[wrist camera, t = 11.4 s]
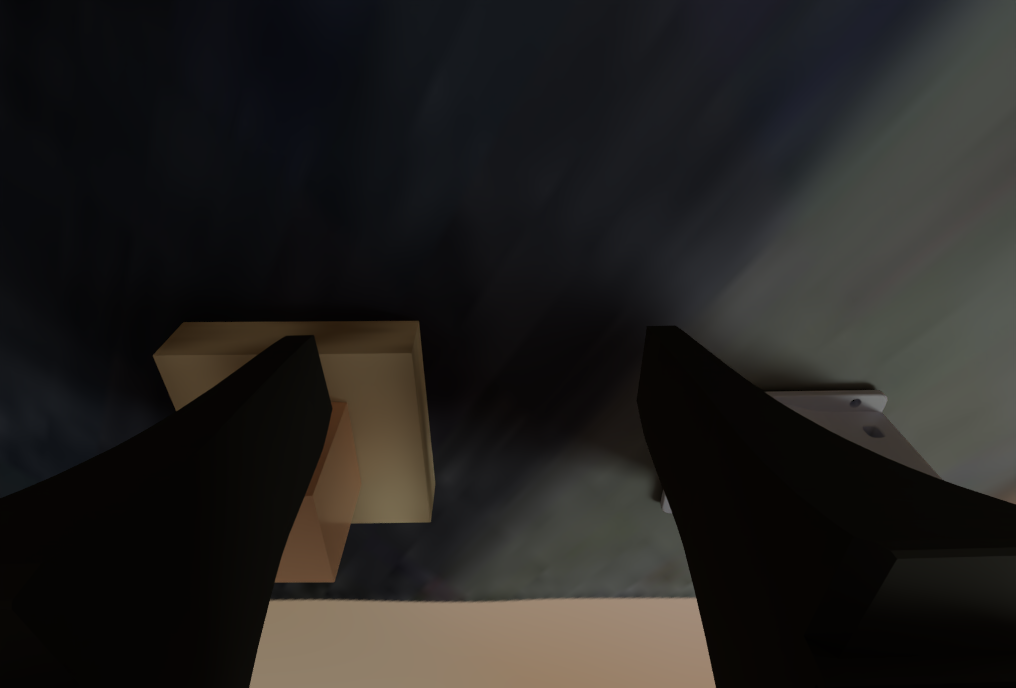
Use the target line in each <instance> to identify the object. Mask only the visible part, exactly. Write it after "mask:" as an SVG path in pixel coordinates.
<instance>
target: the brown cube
mask: <svg viewBox="0 0 1016 688" xmlns="http://www.w3.org/2000/svg"><path fill="white" fill-rule="evenodd" d="M331 404H332V408H333V409H332V413H331V418H330V423H329V427H328V432H327V436H326V440H325V444H324V448H323V450H322V453H321V456H320V458H319V461H318V464H317V466H316V469H315V471H314V474H313V477H312V479H311V482H310V484H309V487H308V489H307V492H306V494H305V497H304V499H303V502H302V504H301V507H300V509H299V512H298V514H297V517H296V519H295V522H294V524H293V527H292V529H291V532H290V534H289V537H288V540H287V543H286V546H285V548H284V551H283V554H282V557H281V561H280V565H279V568H278V572H277V575H276V579H275V582H335V578H336V574H337V571H338V567H339V564H340V560H341V556H342V553H343V549H344V546H345V542H346V538H347V535H348V531H349V528H350V524H351V520H352V517H353V513H354V510H355V506H356V502H357V499H358V495H359V492H360V488H361V484H362V483H361V477H360V472H359V466H358V461H357V455H356V449H355V444H354V438H353V433H352V427H351V421H350V416H349V410H348V405H347V402H331Z"/></svg>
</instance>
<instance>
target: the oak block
mask: <svg viewBox="0 0 1016 688" xmlns="http://www.w3.org/2000/svg"><path fill="white" fill-rule="evenodd" d="M292 335H314V337H315V341H316V345H317V349H318V353H319V357H320V361H321V365H322V369H323V373H324V376H325V380H326V384H327V388H328V392H329V396H330V400H331V402H347V405H348V410H349V416H350V421H351V427H352V433H353V438H354V444H355V449H356V455H357V461H358V466H359V472H360V477H361V483H362V484H361V488H360V492H359V495H358V499H357V502H356V506H355V510H354V513H353V517H352V520H351V523H407V522H431V515H432V507H433V498H434V490H435V477H434V467H433V457H432V447H431V437H430V427H429V417H428V407H427V397H426V387H425V377H424V367H423V357H422V347H421V337H420V327H419V321H312V322H183V323H182V324H181V325H180V326H179V328H178V329H177V330H176V331H175V332H174V333H173V334H172V335H171V336H170V337H169V338H168V339H167V341H166V342H165V343H164V344H163V345H162V346H161V347H160V348H159V349H158V350H157V351H156V352H155V354H154V355H153V357H154V360H155V362H156V364H157V367H158V369H159V372H160V374H161V376H162V379H163V381H164V383H165V386H166V388H167V390H168V393H169V395H170V397H171V400H172V402H173V405H174V407H175V409H176V411H178V410H179V409H181V408H182V407H184V406H185V405H187V404H188V403H190V402H191V401H193V400H194V399H196V398H197V397H199V396H200V395H202V394H203V393H205V392H206V391H208V390H209V389H211V388H212V387H214V386H215V385H217V384H218V383H219V382H221V381H222V380H224V379H225V378H226V377H228V376H229V375H231V374H232V373H233V372H235V371H236V370H237V369H239V368H240V367H242V366H243V365H244V364H246V363H247V362H248V361H250V360H251V359H253V358H254V357H255V356H257V355H258V354H259V353H261V352H262V351H264V350H265V349H266V348H268V347H269V346H271V345H272V344H273V343H275V342H276V341H278V340H280V339H281V338H283V337H285V336H292Z"/></svg>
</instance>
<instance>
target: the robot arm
mask: <svg viewBox="0 0 1016 688" xmlns="http://www.w3.org/2000/svg"><path fill="white" fill-rule="evenodd" d="M854 399H855V400H854ZM853 400H854V401H853ZM851 401H853V402H851ZM886 403H887V396H886V395H885V394H884V393H883V392H882V391H880V390H840V391H775V392H764V391H762V390H761V389H759V388H758V387H756V386H755V385H754V384H752V383H751V382H749V381H748V380H746V379H745V378H744V377H742V376H741V375H739V374H738V373H737V372H735V371H734V370H733V369H731V368H730V367H729V366H727V365H726V364H725V363H723V362H722V361H721V360H720V359H718V358H717V357H716V356H714V355H713V354H712V353H711V352H709V351H708V350H707V349H705V348H704V347H703V346H702V345H700V344H699V343H698V342H697V341H695V340H694V339H693V338H691V337H690V336H689V335H688V334H686V333H685V332H684V331H682V330H681V329H679V328H678V327H677V326H647V331H646V338H645V345H644V353H643V360H642V367H641V374H640V381H639V389H638V396H637V404H638V409H639V414H640V419H641V423H642V428H643V432H644V436H645V440H646V443H647V446H648V449H649V452H650V454H651V457H652V460H653V463H654V465H655V468H656V471H657V473H658V476H659V479H660V482H661V484H662V487H663V493H662V498H661V502H660V503H661V508H662V510H663V511H664V512H666V513H672V514H673V516H674V519H675V522H676V525H677V527H678V531H679V534H680V537H681V540H682V543H683V546H684V550H685V554H686V558H687V562H688V566H689V570H690V574H691V578H692V582H693V586H694V590H695V594H696V598H697V603H698V607H699V611H700V615H701V620H702V624H703V629H704V633H705V637H706V642H707V647H708V652H709V656H710V661H711V666H712V671H713V675H714V680H715V685H716V688H1016V505H1015V504H1012V503H1009V502H1006V501H1003V500H1000V499H997V498H994V497H991V496H988V495H985V494H982V493H979V492H975V491H972V490H969V489H966V488H963V487H960V486H957V485H955V484H952V483H949V482H946V481H944V480H942V479H941V478H940V476H939V475H938V474H937V473H936V472H935V471H934V470H933V469H932V468H931V466H930V465H929V464H928V463H927V462H926V461H925V460H924V459H923V458H922V456H921V455H920V454H919V453H918V452H917V451H916V450H915V449H914V448H913V446H912V445H911V444H910V443H909V442H908V441H907V440H906V439H905V438H904V436H903V435H902V434H901V433H900V432H899V431H898V430H897V429H896V427H895V426H894V425H893V424H892V423H891V422H890V421H889V420H888V419H887V417H886V416H885V415H884V414H883V413H882V411H883V409H884V407H885V405H886ZM332 409H333V408H332V404H331V400H330V396H329V392H328V388H327V384H326V380H325V376H324V373H323V369H322V365H321V361H320V357H319V353H318V349H317V345H316V341H315V337H314V335H292V336H285V337H283V338H281V339H280V340H278V341H276V342H275V343H273V344H272V345H271V346H269V347H268V348H266V349H265V350H264V351H262V352H261V353H259V354H258V355H257V356H255V357H254V358H253V359H251V360H250V361H248V362H247V363H246V364H244V365H243V366H242V367H240V368H239V369H237V370H236V371H235V372H233V373H232V374H231V375H229V376H228V377H226V378H225V379H224V380H222V381H221V382H219V383H218V384H217V385H215V386H214V387H212V388H211V389H209V390H208V391H206V392H205V393H203V394H202V395H200V396H199V397H197V398H196V399H194V400H193V401H191V402H190V403H188V404H187V405H185V406H184V407H182V408H181V409H179V410H178V411H176V412H175V413H173V414H172V415H170V416H168V417H167V418H165V419H164V420H162V421H160V422H159V423H157V424H155V425H154V426H152V427H150V428H148V429H147V430H145V431H143V432H141V433H139V434H138V435H136V436H134V437H132V438H130V439H129V440H127V441H125V442H123V443H121V444H119V445H118V446H116V447H114V448H112V449H110V450H108V451H106V452H104V453H102V454H99V455H97V456H95V457H93V458H91V459H89V460H87V461H85V462H83V463H81V464H79V465H77V466H74V467H72V468H70V469H68V470H66V471H64V472H62V473H60V474H58V475H56V476H53V477H51V478H49V479H46V480H44V481H42V482H39V483H37V484H35V485H32V486H30V487H28V488H25V489H23V490H20V491H18V492H15V493H13V494H10V495H8V496H5V497H3V498H0V688H249V685H250V681H251V676H252V672H253V667H254V663H255V658H256V654H257V649H258V645H259V641H260V637H261V633H262V629H263V624H264V621H265V617H266V613H267V609H268V605H269V601H270V597H271V594H272V590H273V586H274V583H275V579H276V575H277V572H278V568H279V565H280V561H281V557H282V554H283V551H284V548H285V546H286V543H287V540H288V537H289V534H290V532H291V529H292V527H293V524H294V522H295V519H296V517H297V514H298V512H299V509H300V507H301V504H302V502H303V499H304V497H305V494H306V492H307V489H308V487H309V484H310V482H311V479H312V477H313V474H314V471H315V469H316V466H317V464H318V461H319V458H320V456H321V453H322V450H323V448H324V444H325V440H326V436H327V432H328V427H329V423H330V418H331V413H332Z"/></svg>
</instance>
